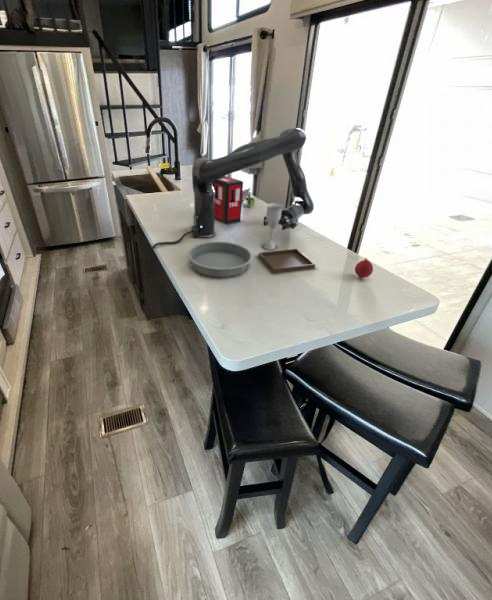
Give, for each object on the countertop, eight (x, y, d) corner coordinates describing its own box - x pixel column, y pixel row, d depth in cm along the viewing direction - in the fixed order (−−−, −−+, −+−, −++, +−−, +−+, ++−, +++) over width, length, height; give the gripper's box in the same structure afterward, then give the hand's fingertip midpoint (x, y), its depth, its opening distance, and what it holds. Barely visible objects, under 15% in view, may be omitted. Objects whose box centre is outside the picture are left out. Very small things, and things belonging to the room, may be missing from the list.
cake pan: (206, 285, 110) (206, 274, 108) (178, 258, 128) (177, 247, 126) (264, 271, 120) (265, 260, 117) (230, 247, 138) (231, 237, 136)
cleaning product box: (208, 215, 174) (209, 177, 163) (221, 212, 178) (223, 175, 167) (226, 224, 162) (228, 183, 151) (240, 221, 166) (243, 181, 156)
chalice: (260, 243, 142) (264, 203, 132) (275, 243, 142) (280, 203, 132) (264, 250, 135) (268, 208, 126) (279, 250, 136) (285, 208, 126)
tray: (273, 273, 118) (274, 269, 117) (258, 256, 130) (258, 252, 129) (314, 268, 122) (315, 264, 121) (295, 252, 134) (296, 248, 133)
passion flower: (239, 214, 193) (232, 195, 193) (254, 209, 196) (248, 190, 195) (245, 208, 182) (238, 188, 182) (261, 202, 185) (254, 183, 184)
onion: (369, 276, 117) (375, 256, 113) (370, 283, 113) (377, 263, 108) (352, 273, 119) (357, 253, 114) (352, 280, 114) (358, 260, 110)
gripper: (275, 204, 147) (259, 213, 136) (305, 210, 140) (290, 220, 129) (273, 220, 151) (257, 230, 140) (302, 227, 144) (288, 237, 133)
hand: (273, 225), depth 135 cm, fingers open, 8 cm apart
